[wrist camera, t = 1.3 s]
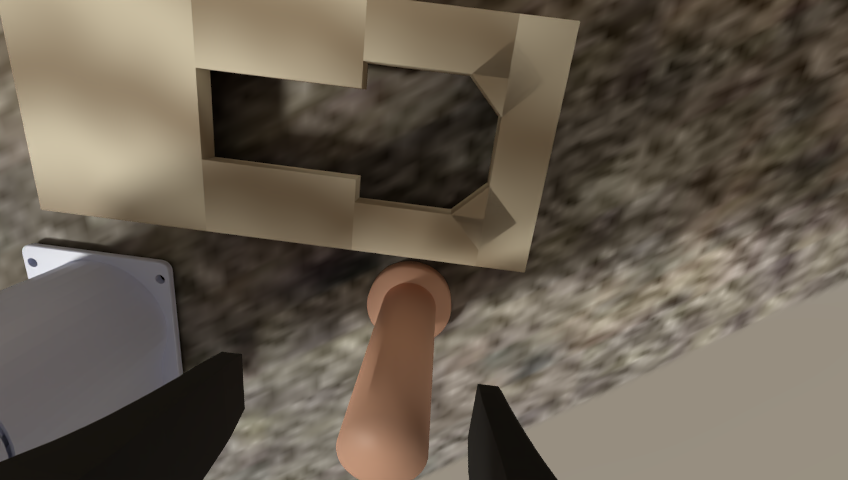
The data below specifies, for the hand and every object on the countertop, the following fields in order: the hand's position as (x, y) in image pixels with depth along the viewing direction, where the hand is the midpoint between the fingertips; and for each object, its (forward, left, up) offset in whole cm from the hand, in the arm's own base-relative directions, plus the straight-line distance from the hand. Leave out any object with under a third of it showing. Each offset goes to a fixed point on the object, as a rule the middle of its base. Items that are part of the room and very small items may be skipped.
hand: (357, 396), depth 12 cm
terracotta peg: (-2, -1, -10) cm, 10 cm away
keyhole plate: (+7, +5, -10) cm, 13 cm away
